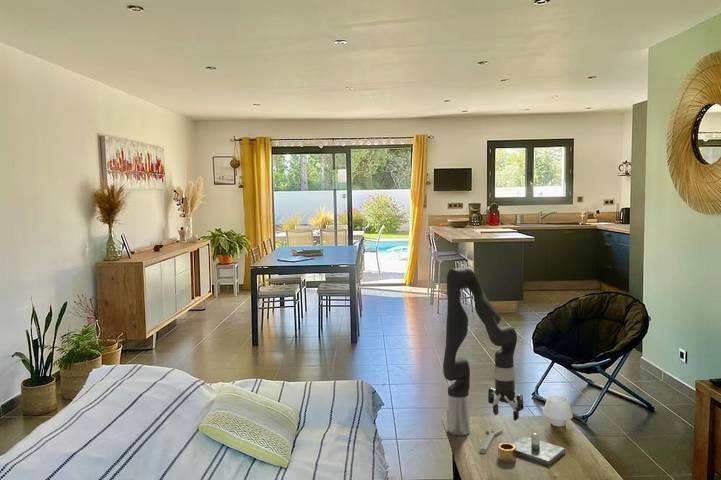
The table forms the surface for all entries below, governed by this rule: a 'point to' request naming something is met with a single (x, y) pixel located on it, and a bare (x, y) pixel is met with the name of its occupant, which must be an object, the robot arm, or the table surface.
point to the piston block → (537, 450)
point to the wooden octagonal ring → (507, 452)
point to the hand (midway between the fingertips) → (505, 417)
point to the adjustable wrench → (490, 438)
